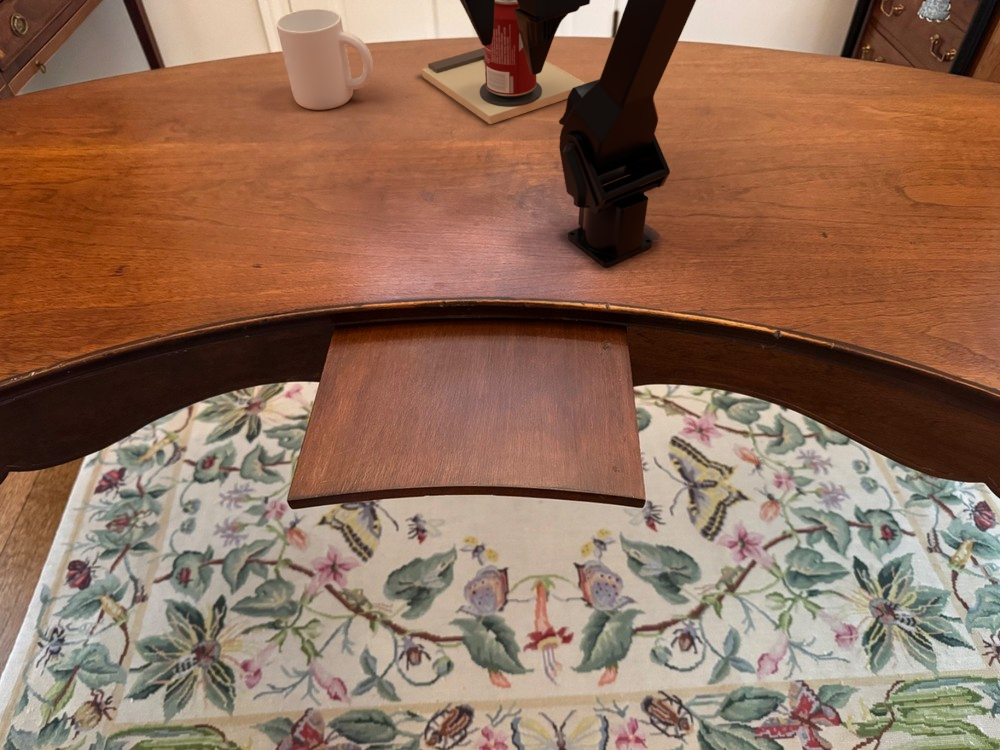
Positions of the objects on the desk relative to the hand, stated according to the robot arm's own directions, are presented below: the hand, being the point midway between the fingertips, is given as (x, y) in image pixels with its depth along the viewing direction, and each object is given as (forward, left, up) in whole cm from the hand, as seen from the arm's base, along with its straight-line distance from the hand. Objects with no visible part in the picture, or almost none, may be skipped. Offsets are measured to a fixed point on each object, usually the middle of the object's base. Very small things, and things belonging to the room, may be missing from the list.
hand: (510, 58), depth 75 cm
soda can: (+15, -10, -12) cm, 21 cm away
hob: (+20, -12, -13) cm, 27 cm away
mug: (+30, +9, -13) cm, 34 cm away
